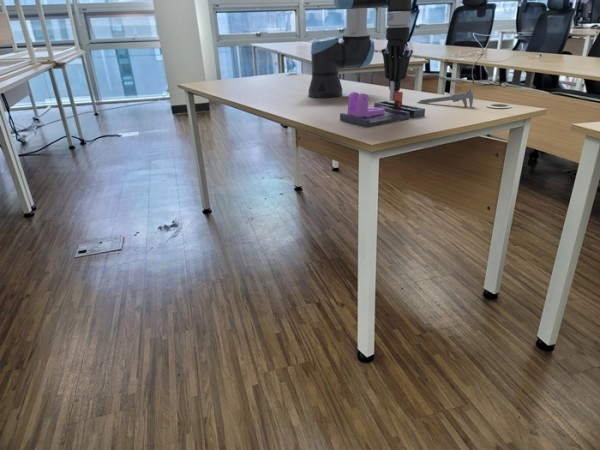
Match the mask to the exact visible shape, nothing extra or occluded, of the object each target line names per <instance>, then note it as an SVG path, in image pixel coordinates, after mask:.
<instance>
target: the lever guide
mask: <svg viewBox="0 0 600 450" xmlns="http://www.w3.org/2000/svg"><path fill="white" fill-rule="evenodd" d="M373 106H374V107H373V108H379V107H380V106H382V107H387V108H392V109H397V110H402V111H406V112H410V116H409V118H413V119H417V118H420V117H421V118H422V117H425V115H426V114H425V113H426V108H424V107H423V108H422V107H417V106H412V105H407V104H403V103H402V107H405V108H402V107H397V106H394V101H387V100H384V101H377V102H374V105H373ZM407 108H410V109H407ZM412 109H415V110H412Z"/></svg>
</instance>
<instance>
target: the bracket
mask: <svg viewBox="0 0 600 450" xmlns="http://www.w3.org/2000/svg"><path fill="white" fill-rule="evenodd" d="M369 98H370V97H369V95H368V94H366V93H359V92H357V91H351V92H350V93H349V94H348V101H347V102H348V103H347V112H346V114H349V115H353V116H357V117H362V116H371V115H380V114H384V112H385V109H383V108H374V107H369V102H370V101H369V100H370V99H369Z"/></svg>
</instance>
